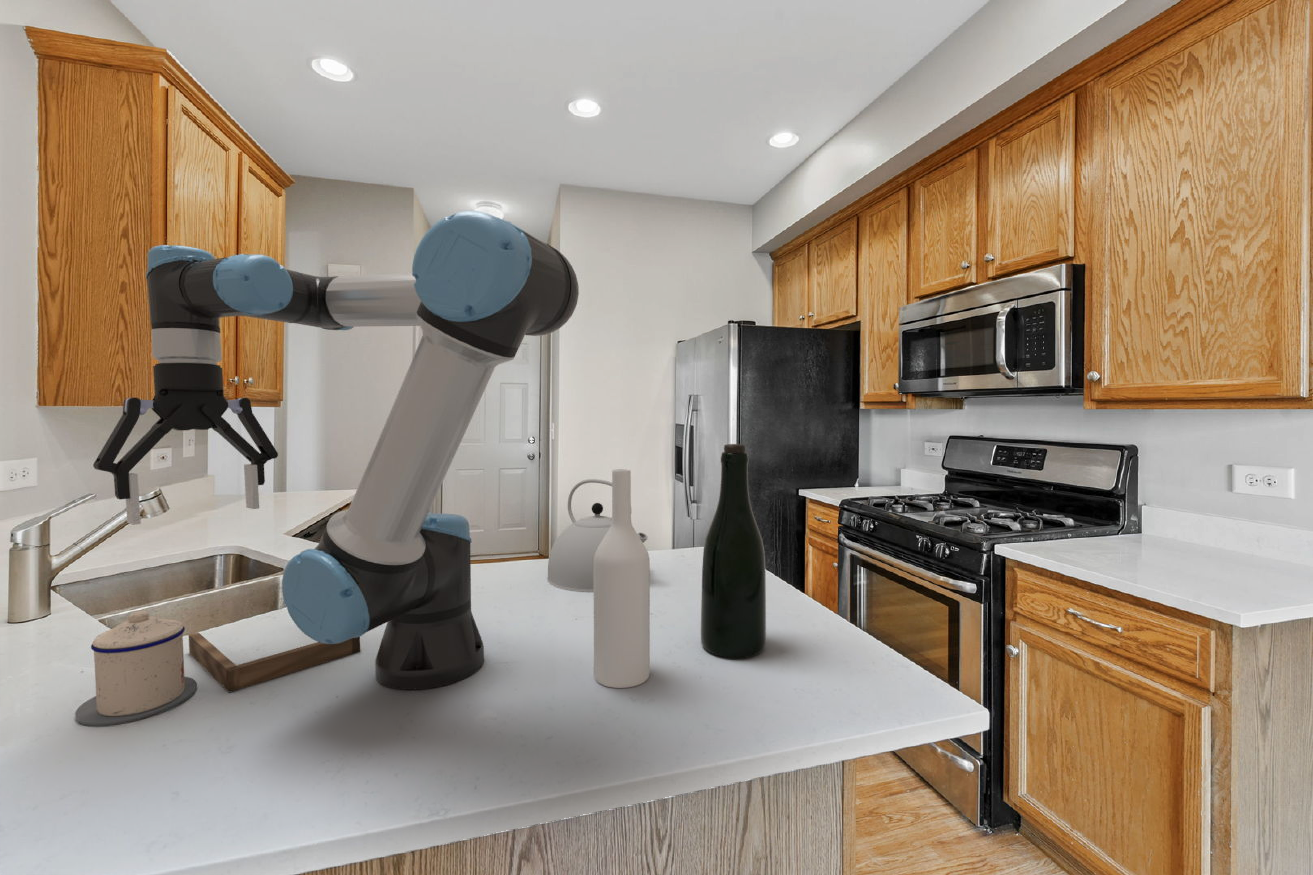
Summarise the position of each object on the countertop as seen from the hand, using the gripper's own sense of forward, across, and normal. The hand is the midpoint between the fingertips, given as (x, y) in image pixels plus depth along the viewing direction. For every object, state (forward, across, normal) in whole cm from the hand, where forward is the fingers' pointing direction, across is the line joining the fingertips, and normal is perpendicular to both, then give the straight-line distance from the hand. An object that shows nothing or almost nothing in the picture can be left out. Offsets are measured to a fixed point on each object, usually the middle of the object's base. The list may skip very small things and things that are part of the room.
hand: (197, 515), depth 82 cm
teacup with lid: (+23, +8, 0) cm, 24 cm away
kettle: (+25, -71, +12) cm, 76 cm away
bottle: (+25, -36, +47) cm, 64 cm away
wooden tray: (+24, -10, -3) cm, 26 cm away
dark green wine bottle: (+26, -54, +55) cm, 81 cm away
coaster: (+24, +7, 0) cm, 25 cm away
